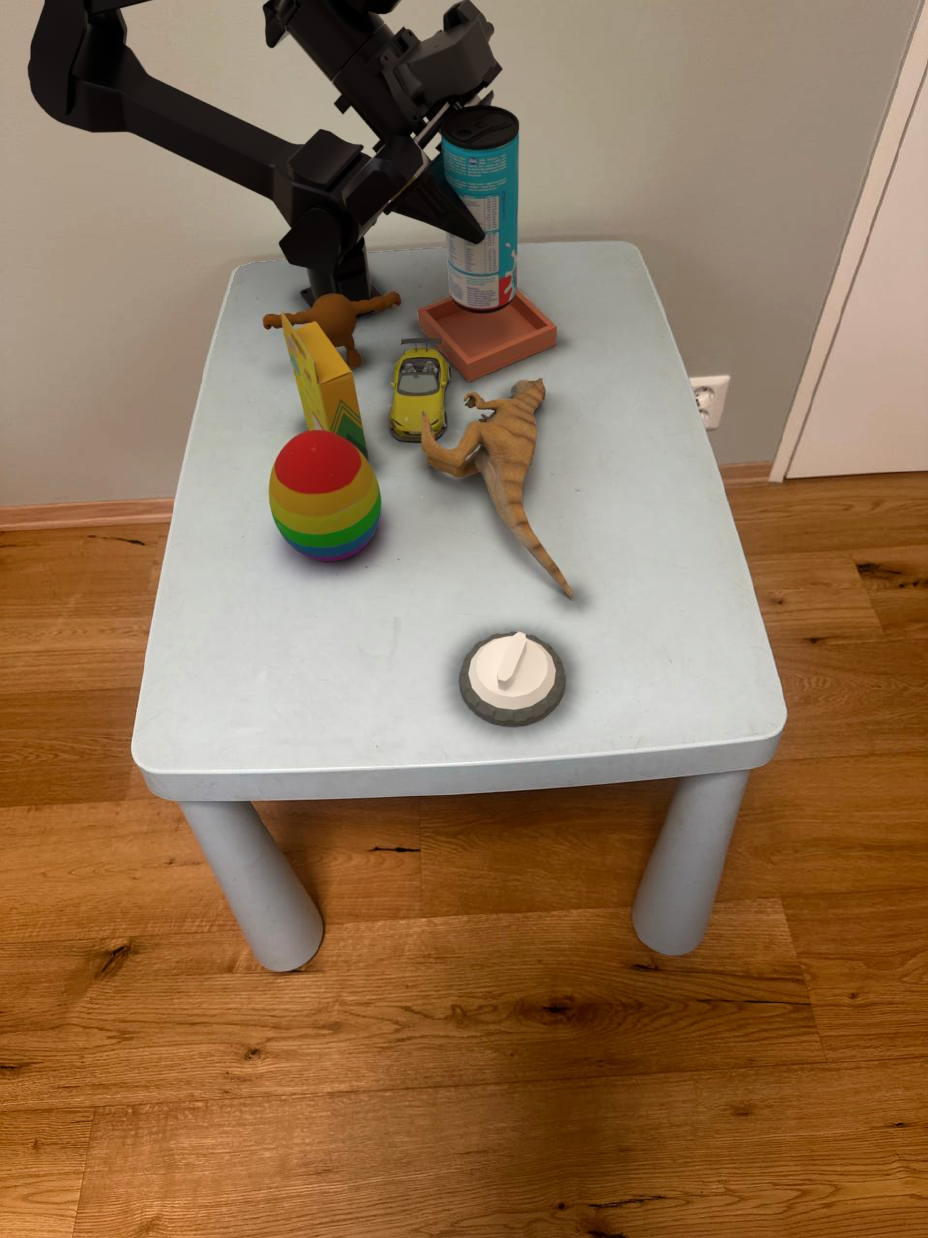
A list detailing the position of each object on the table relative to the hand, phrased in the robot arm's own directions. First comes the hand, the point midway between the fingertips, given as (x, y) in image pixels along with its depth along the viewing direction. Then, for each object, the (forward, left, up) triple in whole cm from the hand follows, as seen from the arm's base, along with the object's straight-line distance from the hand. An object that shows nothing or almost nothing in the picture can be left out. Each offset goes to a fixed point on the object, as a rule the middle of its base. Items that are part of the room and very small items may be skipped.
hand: (496, 219), depth 75 cm
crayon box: (+4, -19, -12) cm, 23 cm away
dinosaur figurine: (+16, -10, -12) cm, 22 cm away
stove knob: (+32, -18, -12) cm, 38 cm away
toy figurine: (-5, -14, -12) cm, 19 cm away
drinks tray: (-1, -1, -12) cm, 12 cm away
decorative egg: (+13, -23, -12) cm, 29 cm away
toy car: (+3, -10, -12) cm, 16 cm away
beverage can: (-1, -1, -8) cm, 8 cm away
